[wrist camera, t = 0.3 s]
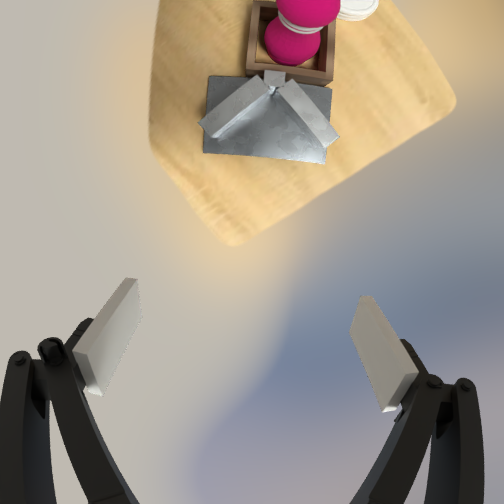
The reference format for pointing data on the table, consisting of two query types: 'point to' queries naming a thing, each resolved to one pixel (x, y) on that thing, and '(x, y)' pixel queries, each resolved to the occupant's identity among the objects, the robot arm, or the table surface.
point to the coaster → (356, 9)
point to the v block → (268, 118)
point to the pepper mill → (298, 29)
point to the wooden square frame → (299, 75)
